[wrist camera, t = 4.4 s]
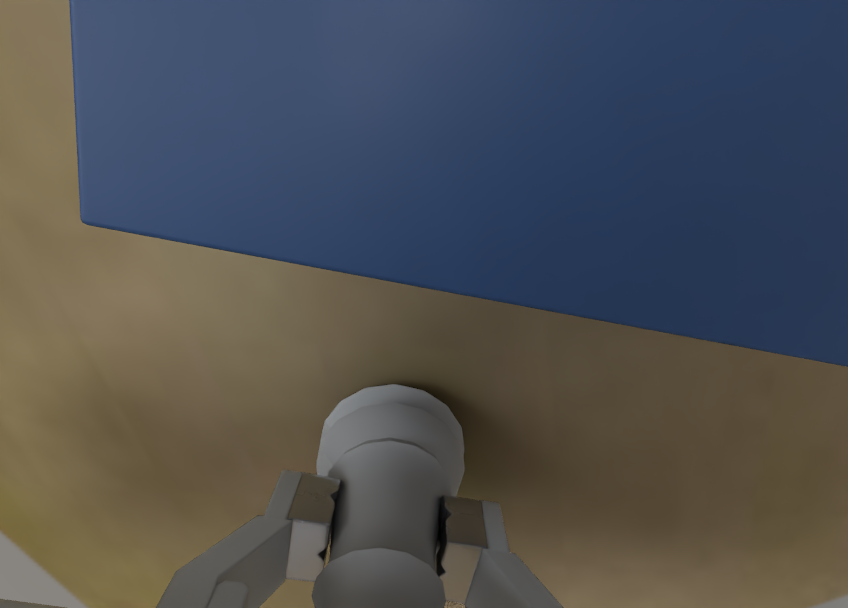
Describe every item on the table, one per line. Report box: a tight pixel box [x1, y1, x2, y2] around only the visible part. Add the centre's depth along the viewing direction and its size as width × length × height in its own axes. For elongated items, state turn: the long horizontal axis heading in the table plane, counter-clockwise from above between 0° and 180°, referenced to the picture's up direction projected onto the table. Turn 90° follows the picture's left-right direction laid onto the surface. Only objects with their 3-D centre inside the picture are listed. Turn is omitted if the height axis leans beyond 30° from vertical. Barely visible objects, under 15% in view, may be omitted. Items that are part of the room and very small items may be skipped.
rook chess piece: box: [312, 384, 465, 608], centre depth 12 cm, size 4×4×8 cm
